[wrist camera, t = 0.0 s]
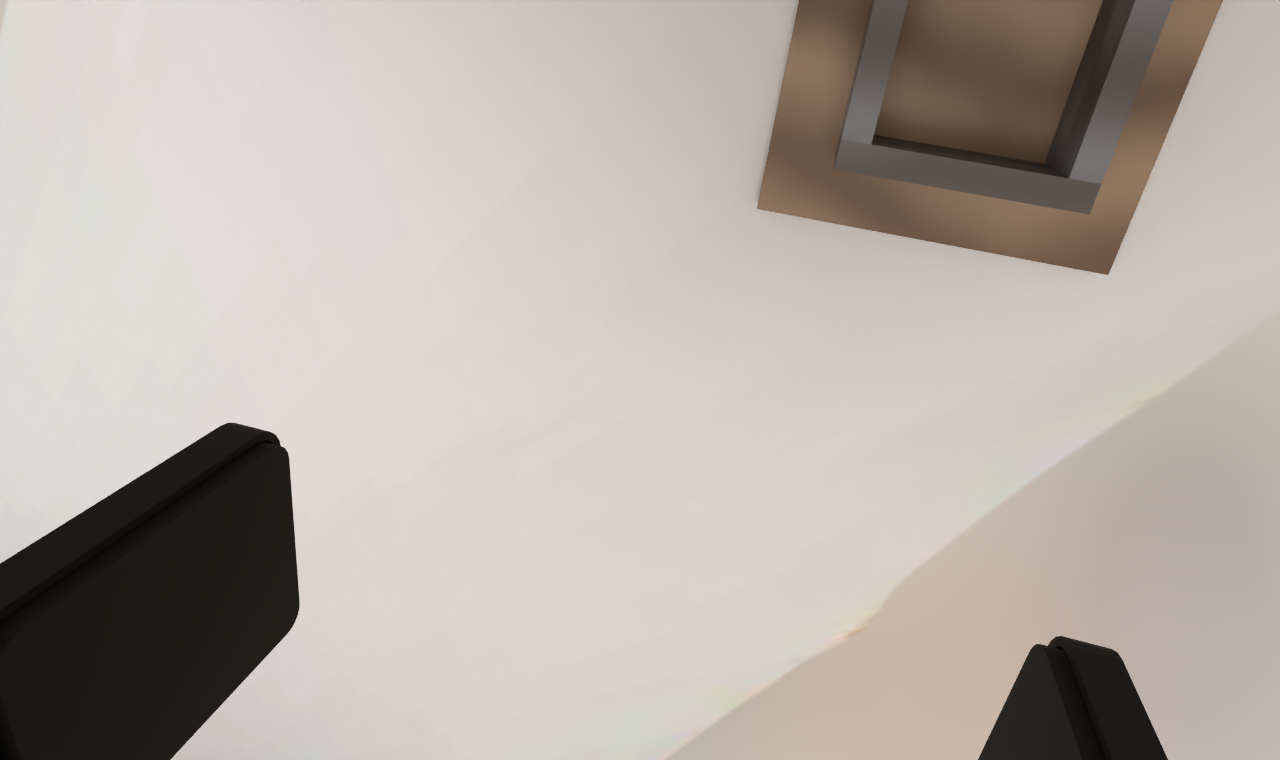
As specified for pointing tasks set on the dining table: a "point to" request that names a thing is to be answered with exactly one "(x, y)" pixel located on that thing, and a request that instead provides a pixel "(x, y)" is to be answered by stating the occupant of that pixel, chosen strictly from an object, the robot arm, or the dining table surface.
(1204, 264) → the dining table surface
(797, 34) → the can holder
